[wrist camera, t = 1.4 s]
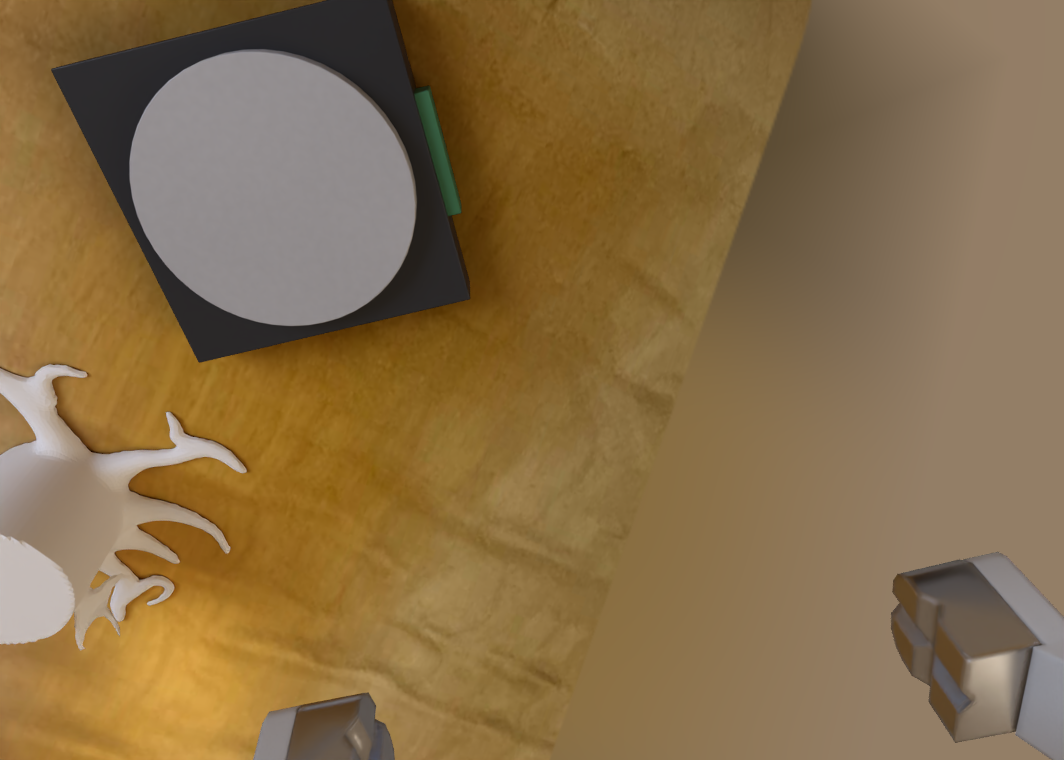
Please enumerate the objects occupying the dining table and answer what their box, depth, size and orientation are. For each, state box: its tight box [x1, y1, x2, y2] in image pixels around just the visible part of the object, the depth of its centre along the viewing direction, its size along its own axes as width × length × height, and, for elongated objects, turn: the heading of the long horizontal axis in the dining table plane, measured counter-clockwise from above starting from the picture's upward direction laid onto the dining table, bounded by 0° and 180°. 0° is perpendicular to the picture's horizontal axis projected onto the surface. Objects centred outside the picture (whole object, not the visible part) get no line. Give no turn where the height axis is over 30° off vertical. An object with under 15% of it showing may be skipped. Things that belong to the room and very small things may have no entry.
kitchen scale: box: [51, 0, 470, 362], centre depth 36 cm, size 16×15×4 cm
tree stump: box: [0, 364, 247, 650], centre depth 42 cm, size 20×19×8 cm
